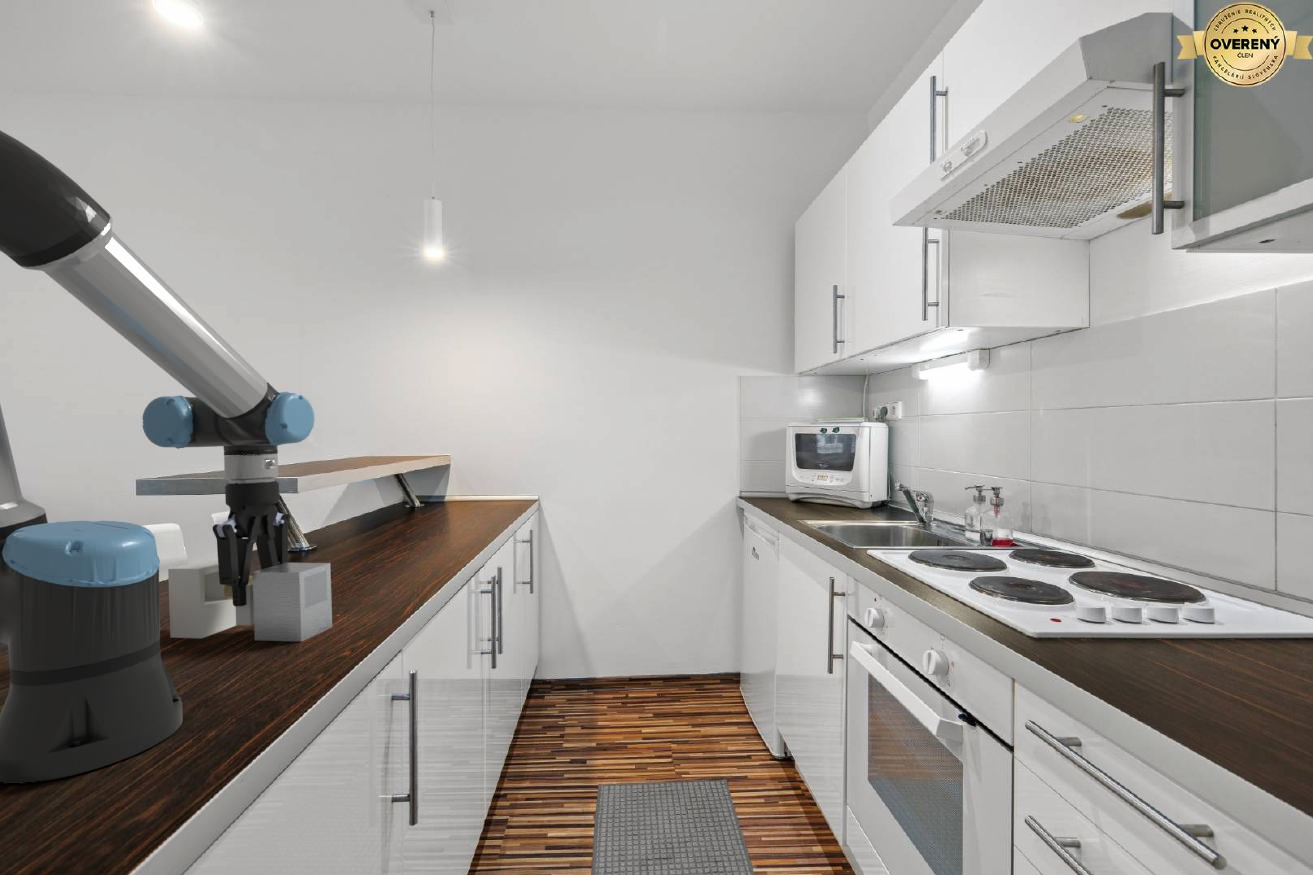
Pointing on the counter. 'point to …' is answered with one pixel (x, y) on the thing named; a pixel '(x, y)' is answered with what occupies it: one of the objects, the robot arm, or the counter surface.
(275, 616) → the grey block
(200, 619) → the socket
